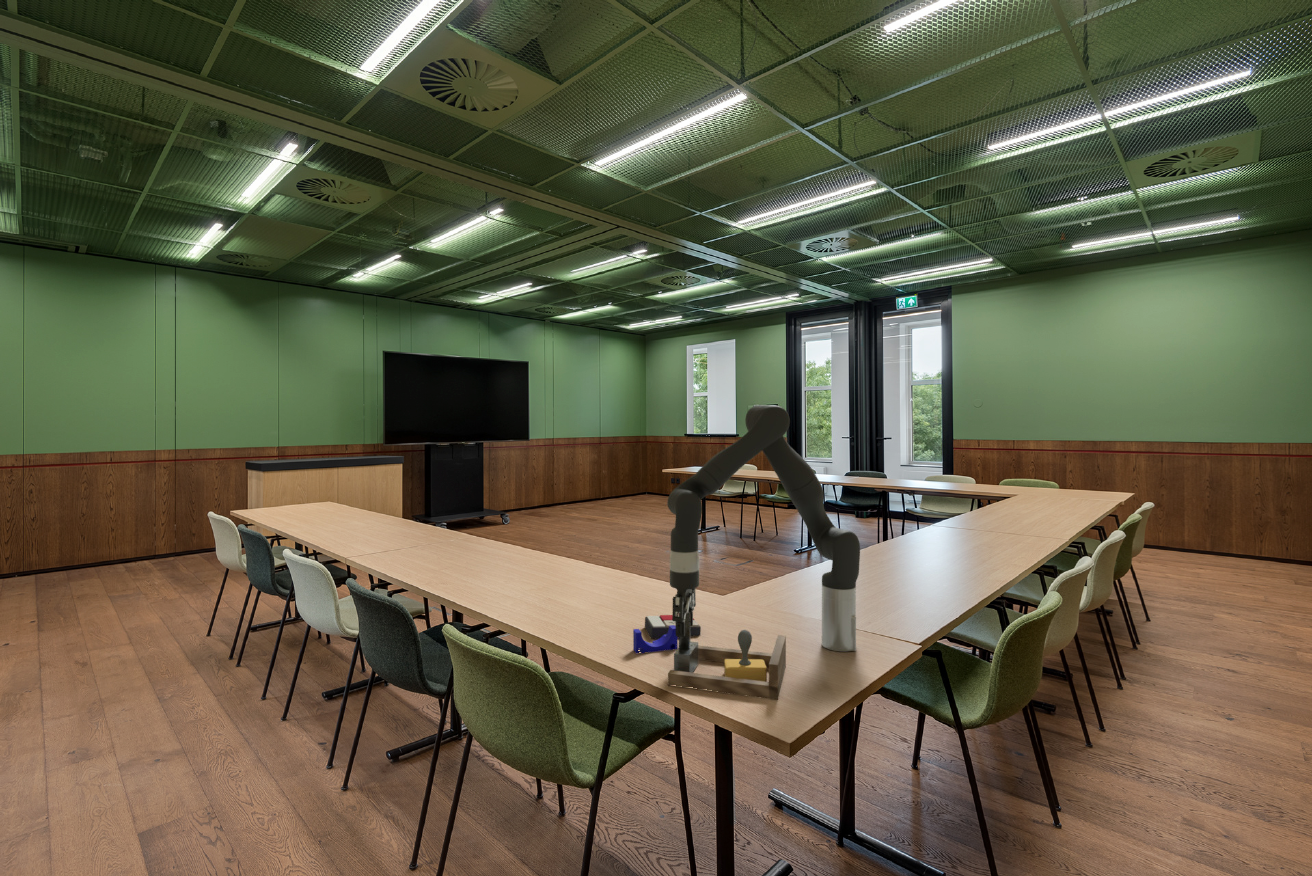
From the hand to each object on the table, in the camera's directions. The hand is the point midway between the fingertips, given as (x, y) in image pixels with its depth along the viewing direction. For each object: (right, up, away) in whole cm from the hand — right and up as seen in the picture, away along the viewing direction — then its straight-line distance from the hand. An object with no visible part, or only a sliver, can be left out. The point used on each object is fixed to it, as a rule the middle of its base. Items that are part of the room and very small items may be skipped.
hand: (684, 630), depth 153 cm
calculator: (-2, -10, +30) cm, 31 cm away
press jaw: (+1, -10, 0) cm, 10 cm away
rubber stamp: (+15, -10, -4) cm, 19 cm away
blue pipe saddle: (-8, -10, +15) cm, 20 cm away
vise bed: (+12, -10, -4) cm, 16 cm away
